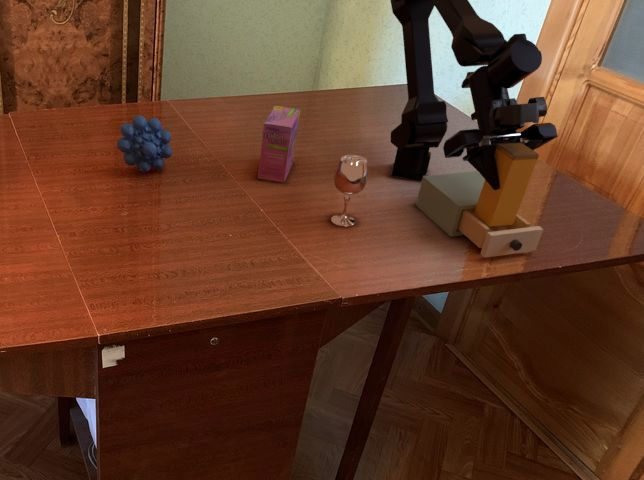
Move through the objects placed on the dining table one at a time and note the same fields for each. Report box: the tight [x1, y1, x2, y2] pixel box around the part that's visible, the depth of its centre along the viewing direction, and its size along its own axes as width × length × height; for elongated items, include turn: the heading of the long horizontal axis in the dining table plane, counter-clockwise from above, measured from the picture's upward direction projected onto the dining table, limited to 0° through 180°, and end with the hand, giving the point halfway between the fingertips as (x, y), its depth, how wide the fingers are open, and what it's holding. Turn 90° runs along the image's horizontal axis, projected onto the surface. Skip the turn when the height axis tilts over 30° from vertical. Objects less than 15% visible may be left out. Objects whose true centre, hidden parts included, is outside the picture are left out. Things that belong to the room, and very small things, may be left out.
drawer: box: [457, 208, 544, 258], centre depth 134 cm, size 13×10×4 cm
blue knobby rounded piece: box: [116, 114, 173, 173], centre depth 151 cm, size 12×7×12 cm, turn 110°
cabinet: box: [415, 170, 485, 238], centre depth 141 cm, size 13×12×6 cm
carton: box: [474, 143, 540, 226], centre depth 130 cm, size 5×5×13 cm
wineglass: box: [330, 154, 369, 227], centre depth 137 cm, size 6×6×12 cm
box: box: [257, 105, 301, 184], centre depth 154 cm, size 10×6×12 cm, turn 163°
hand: (510, 188), depth 129 cm, fingers closed on carton, 5 cm apart
